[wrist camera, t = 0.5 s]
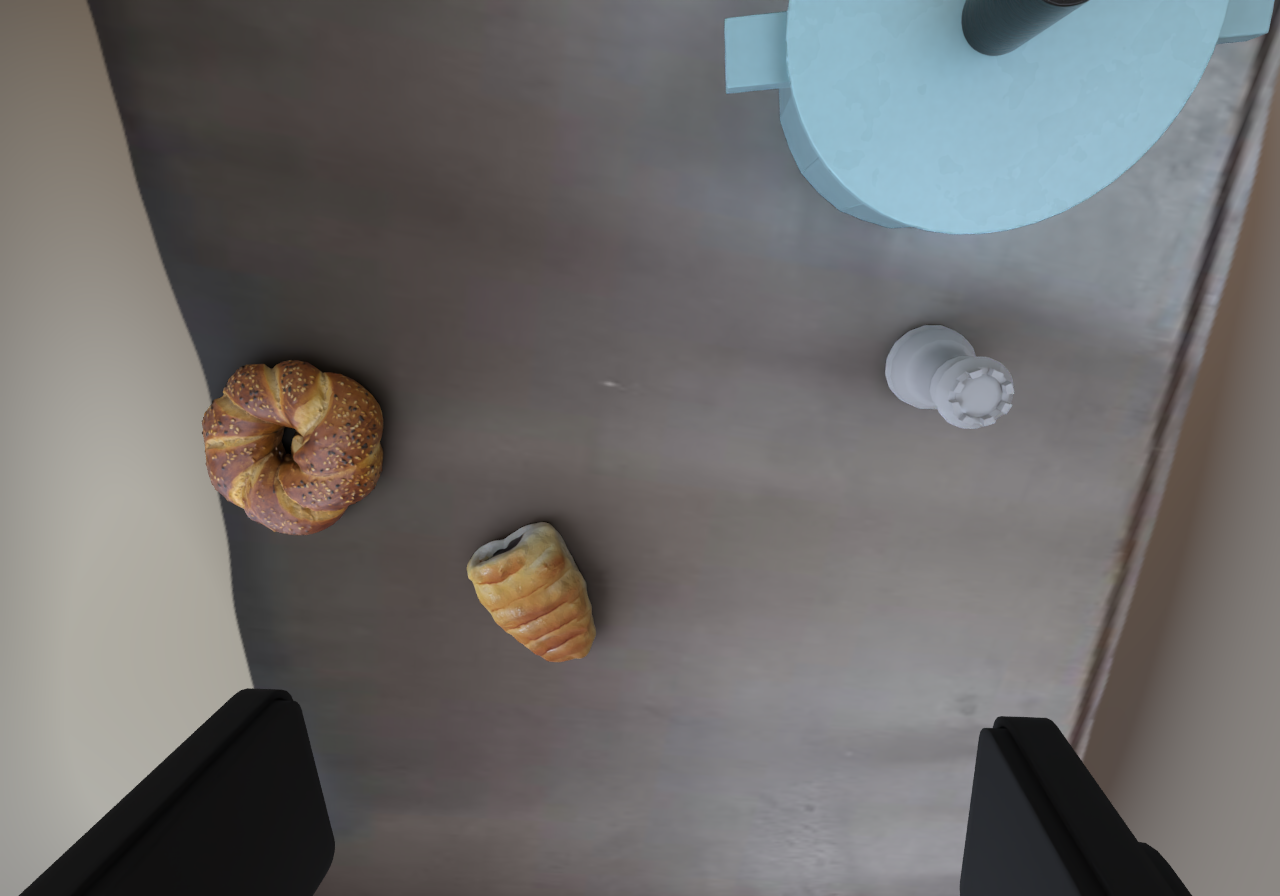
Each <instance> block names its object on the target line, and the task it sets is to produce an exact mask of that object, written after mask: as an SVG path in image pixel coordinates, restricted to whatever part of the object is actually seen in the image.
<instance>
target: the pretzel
mask: <svg viewBox="0 0 1280 896" xmlns="http://www.w3.org/2000/svg"><path fill="white" fill-rule="evenodd" d="M223 393H224V395H223V397H221V398H218V399H215V400H213V401H212V404H211V406H210V407H209V408H208V410H207V411H206V412H205V414H204V417H203V420H202V425H203V432H202V434H203V437H204V442H205V453H206V466H207V470H208V474H209V477H210V479H211V483H212V485H213V486H214V487H215V489H216V490H217V491H219V492H220V493H221V494H222V495H223V496H224V497H225V498H226V499H227V501H230V502H232V503H234V504H235V505H237V506H239V507H242V508H244V510H245V512H246V514H247V515H248V517H249V518H251V520H253V521H256V522H257V523H261V524H263V525H264V526H266V527H268V528H270V529H271V530H273V531H278V532H280V534H282V533H286V534H290V535H308V534H313V533H316V532H319V531H322V530H324V529H326V528H328V527H329V526H331V525H333V524H334V523H335V522H336V521H337V520H339V519H340V517H341V516H342V515H343V514H344V512H345V511H346V509H347V508H348V506H349V505H351V504H355V503H356V502H358V501H360V500H361V499H363V498H364V497H366V496H367V495H368V494H369V493H370V492H371V491H372V490H373V489H374V488H375V486H376V483H377V481H378V479H379V476H380V473H381V472H382V463H383V449H382V447H381V445H380V439H381V437H382V433H383V418H382V411H381V408H380V406H379V404H378V403H377V401H376V400H375V398H374V397H373V396H372V395H371V394H370V393H369V392H368V391H367V390H366V389H365V388H364V387H363V386H361V385H360V384H359V383H357V382H356V381H355V380H353V379H351V378H349V377H346V376H344V375H342V374H336V373H335V372H333V373H329V372H327V373H325V372H324V373H322V372H321V371H320V370H318V369H317V368H316V367H314V366H312V365H311V364H310V363H309V362H307V361H306V362H303V361H299V360H289V361H284V362H283V361H281V363H280V364H277V365H276V366H275V367H274V368H273V369H271V368H269V367H267V366H266V365H265V364H252V365H245V366H242V367H241V368H240V369H238V370H236V372H235V373H234V374H233V375H232V376H231V378H229V380H228V383H227V384H226V386H225V387H224V391H223ZM285 427H289V428H294V429H295V430H296V431H297V432H295V435H294V437H293V440H292V445H291V454H286V452H285V449H284V446H283V444H282V441H281V440H282V437H283V433H284V428H285Z"/></svg>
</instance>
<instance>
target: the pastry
mask: <svg viewBox="0 0 1280 896" xmlns="http://www.w3.org/2000/svg"><path fill="white" fill-rule="evenodd" d="M467 571H468V578H469V579H470V580H471V581H472V582H473V584H474V586H475V589H476V593H477V595H478V598H479V600H480V602H481V603H482V604H483V605H484V606H485V607H486V609H487V610H488V611H489V612H490V613H491V614H492V616H493V618H494V620H495V622H496V623H497V624H498V625H499V626H501V627H502V628H503V629H504V630H505V631H506V632H507V633H509V634H511V635H512V636H513V637H514V638H515V639H516V640H517V641H518V642H520V643H522V644H524V646H525V647H527V648H529V649H530V650H531V651H532V652H533V653H534V654H536V655H539V656H541V657H543V658H544V659H545V660H547V661H551V662H563V661H567V660H571V659H574V658H578V659H579V658H583V657H585V656H586V655H587V654H588V652H589V651H590V648H591V646H592V643H593V641H594V638H595V636H596V629H595V626H594V621H593V616H592V605H591V603H590V601H589V598H588V595H587V587H586V582H585V580H584V579H583V577H582V575H581V573H580V572H579V570H578V567H577V565H576V564H575V562H574V560H573V557H572V555H571V554H570V552H569V550H568V549H567V547H566V544H565V542H564V540H563V538H562V537H561V535H560V534H559V533H558V532H557V531H556V530H555V528H554V527H553V526H552V525H551V524H549V523H545V522H539V523H534V524H530V525H527V526H524V527H522V528H520V529H518V530H517V531H516V532H514V533H512V534H511V535H509V536H508V537H507V538H505V539H503V540H495V541H492V542H489V543H487V544H486V545H484V546H481V547H480V548H479V549H478V550H477V551H476V552H475V553H474V555H473V556H472V558H471V559H470V561H469V563H468V566H467Z"/></svg>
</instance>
